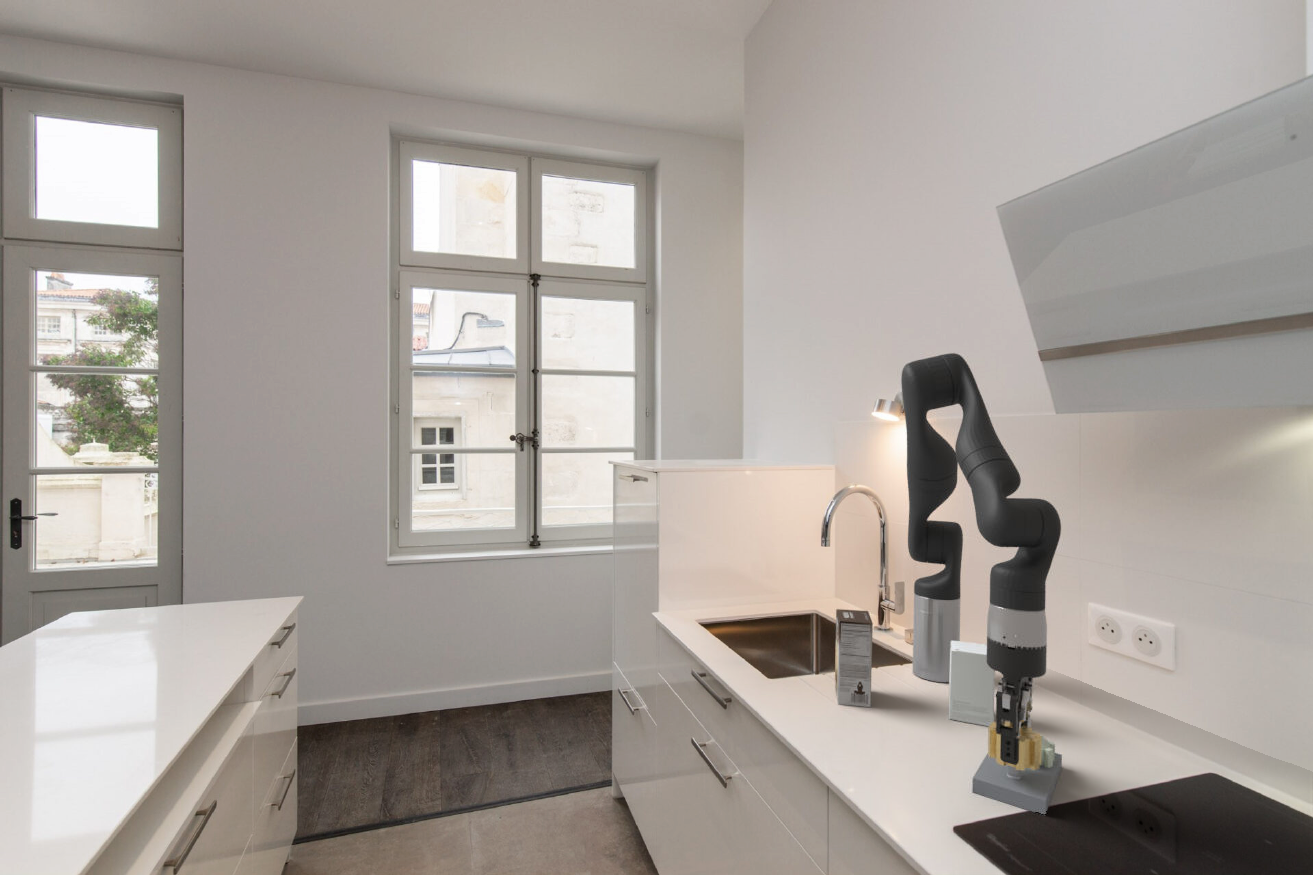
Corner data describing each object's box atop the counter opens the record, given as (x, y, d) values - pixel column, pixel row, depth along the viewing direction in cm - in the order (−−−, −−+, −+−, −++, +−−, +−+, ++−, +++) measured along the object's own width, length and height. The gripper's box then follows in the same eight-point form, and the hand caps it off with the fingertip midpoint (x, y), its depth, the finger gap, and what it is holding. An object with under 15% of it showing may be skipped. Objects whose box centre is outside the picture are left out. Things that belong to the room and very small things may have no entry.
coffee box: (833, 686, 132) (835, 607, 132) (866, 690, 130) (868, 610, 131) (837, 704, 123) (838, 619, 123) (872, 708, 121) (874, 622, 122)
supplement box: (994, 728, 114) (995, 656, 114) (948, 719, 117) (949, 649, 117) (992, 712, 121) (993, 644, 121) (948, 704, 124) (950, 638, 124)
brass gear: (993, 743, 98) (994, 717, 98) (1043, 757, 94) (1044, 730, 94) (984, 760, 93) (984, 732, 93) (1036, 775, 89) (1036, 746, 89)
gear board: (997, 749, 106) (998, 697, 106) (1061, 767, 100) (1062, 712, 100) (972, 791, 92) (973, 732, 93) (1045, 815, 87) (1046, 752, 87)
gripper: (997, 621, 101) (995, 728, 101) (976, 642, 90) (973, 763, 90) (1053, 631, 97) (1051, 743, 96) (1038, 654, 85) (1036, 782, 85)
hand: (1014, 752), depth 93 cm, fingers closed on brass gear, 6 cm apart
